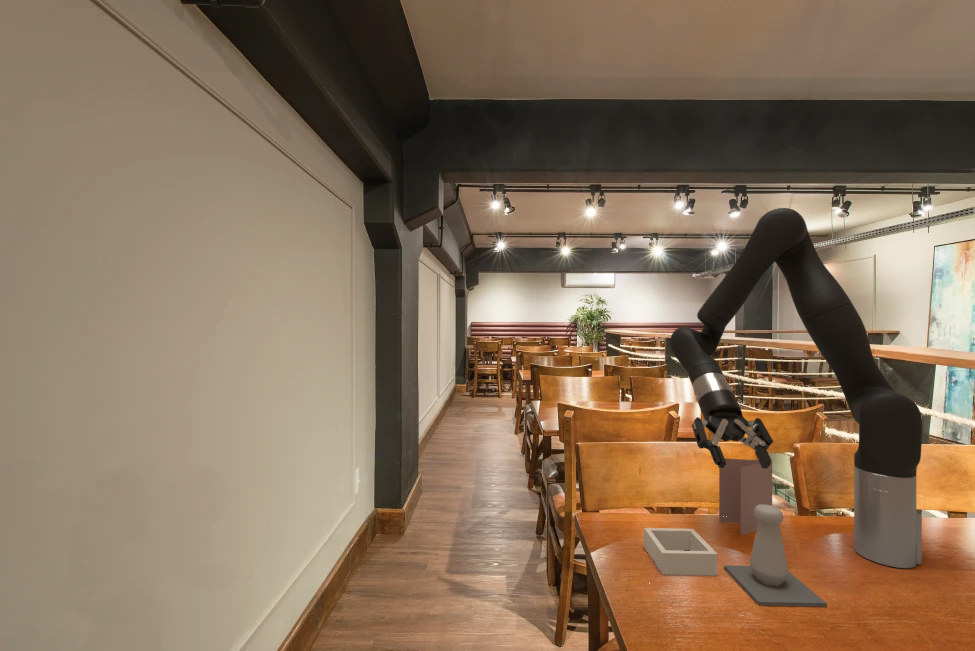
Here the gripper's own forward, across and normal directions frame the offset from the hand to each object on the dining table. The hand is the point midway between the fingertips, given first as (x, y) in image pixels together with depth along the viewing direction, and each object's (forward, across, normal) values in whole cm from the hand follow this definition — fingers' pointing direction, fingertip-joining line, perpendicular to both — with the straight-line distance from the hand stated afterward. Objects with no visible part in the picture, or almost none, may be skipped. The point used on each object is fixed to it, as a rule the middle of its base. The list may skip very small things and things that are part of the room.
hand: (744, 466), depth 85 cm
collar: (+13, -13, +13) cm, 23 cm away
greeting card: (+4, +9, +23) cm, 25 cm away
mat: (+19, 0, +7) cm, 20 cm away
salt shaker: (+18, 0, +7) cm, 20 cm away
